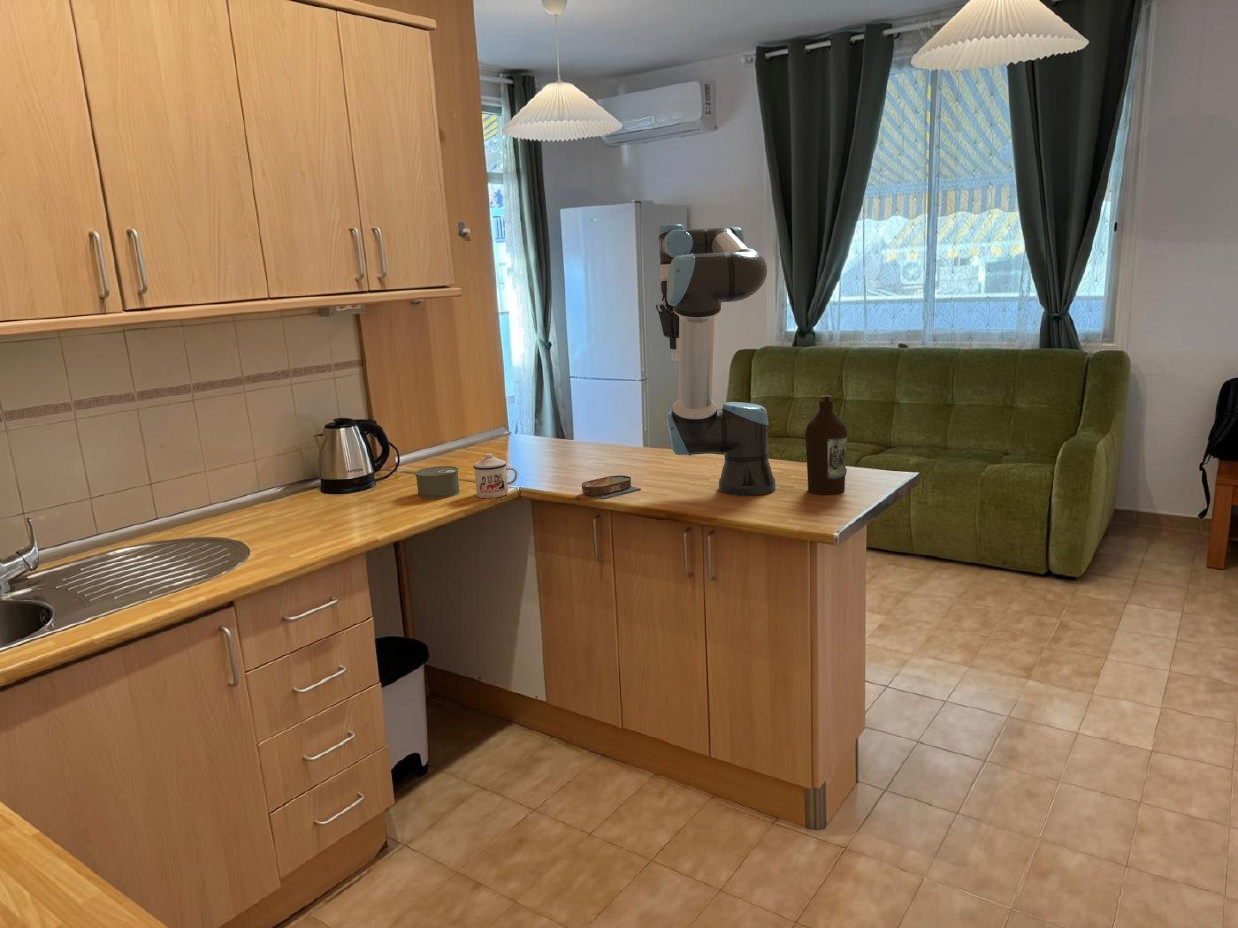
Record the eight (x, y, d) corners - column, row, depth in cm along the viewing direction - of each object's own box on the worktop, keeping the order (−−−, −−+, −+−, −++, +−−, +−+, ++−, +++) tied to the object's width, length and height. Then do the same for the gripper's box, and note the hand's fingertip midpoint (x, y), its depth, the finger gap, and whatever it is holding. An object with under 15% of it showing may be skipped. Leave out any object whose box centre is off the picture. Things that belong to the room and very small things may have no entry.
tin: (619, 474, 247) (637, 476, 241) (620, 484, 248) (638, 487, 241) (575, 483, 239) (592, 486, 232) (576, 494, 239) (593, 497, 232)
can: (431, 488, 256) (428, 465, 254) (467, 489, 252) (465, 466, 251) (409, 499, 245) (407, 475, 243) (447, 500, 241) (445, 476, 240)
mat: (640, 489, 240) (640, 488, 240) (603, 499, 232) (603, 497, 232) (620, 484, 247) (620, 483, 247) (583, 493, 239) (583, 492, 239)
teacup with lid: (477, 500, 239) (473, 458, 236) (474, 492, 247) (471, 452, 245) (521, 495, 241) (517, 454, 239) (517, 488, 250) (513, 448, 247)
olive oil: (797, 490, 230) (796, 396, 225) (825, 483, 236) (825, 391, 230) (827, 497, 222) (826, 400, 216) (855, 490, 227) (856, 395, 222)
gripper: (681, 278, 261) (684, 357, 266) (648, 280, 253) (651, 361, 258) (698, 278, 255) (701, 358, 260) (665, 280, 247) (668, 363, 252)
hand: (676, 360), depth 259 cm, fingers closed
